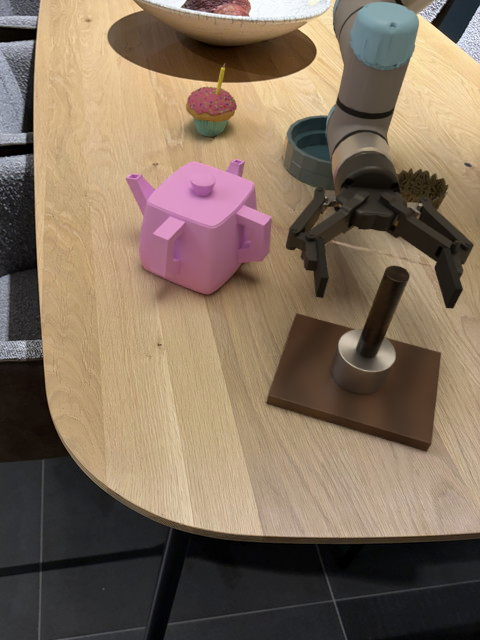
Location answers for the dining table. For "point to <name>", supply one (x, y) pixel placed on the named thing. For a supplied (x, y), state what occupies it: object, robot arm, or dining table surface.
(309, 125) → the bowl
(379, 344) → the handled rubber stamp
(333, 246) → the dining table surface
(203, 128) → the cupcake
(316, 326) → the board
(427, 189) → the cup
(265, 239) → the teakettle
